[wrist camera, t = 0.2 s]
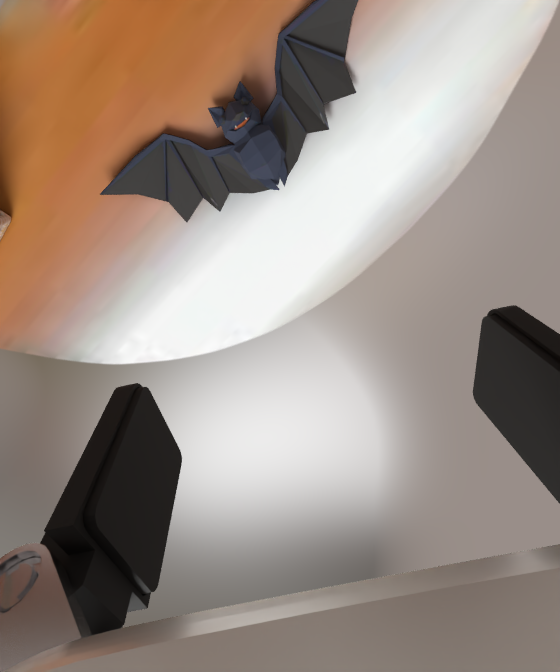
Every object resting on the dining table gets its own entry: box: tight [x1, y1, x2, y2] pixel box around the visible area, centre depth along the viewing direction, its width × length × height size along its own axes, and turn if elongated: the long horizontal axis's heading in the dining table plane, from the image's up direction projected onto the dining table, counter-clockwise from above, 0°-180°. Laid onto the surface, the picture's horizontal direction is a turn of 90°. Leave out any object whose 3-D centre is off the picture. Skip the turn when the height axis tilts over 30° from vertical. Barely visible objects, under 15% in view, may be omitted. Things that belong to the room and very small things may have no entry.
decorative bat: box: [100, 0, 358, 222], centre depth 32 cm, size 30×4×10 cm
